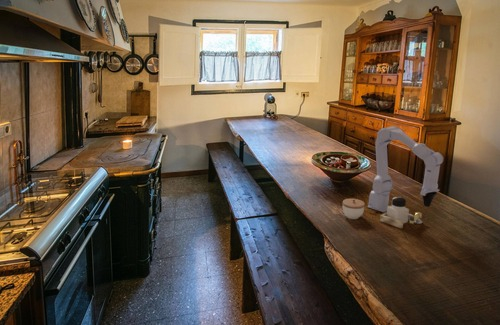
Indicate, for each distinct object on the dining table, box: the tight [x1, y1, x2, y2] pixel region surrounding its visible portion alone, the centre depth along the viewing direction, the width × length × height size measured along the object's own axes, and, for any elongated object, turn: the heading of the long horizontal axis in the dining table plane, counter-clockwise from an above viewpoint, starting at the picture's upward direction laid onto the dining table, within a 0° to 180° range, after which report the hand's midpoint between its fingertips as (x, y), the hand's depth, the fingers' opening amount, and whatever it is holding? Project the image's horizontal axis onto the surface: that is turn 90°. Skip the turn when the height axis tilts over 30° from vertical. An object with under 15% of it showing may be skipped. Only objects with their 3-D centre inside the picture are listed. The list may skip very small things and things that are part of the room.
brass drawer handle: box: [408, 211, 423, 225], centre depth 165 cm, size 12×3×3 cm, turn 138°
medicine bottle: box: [386, 196, 410, 224], centre depth 169 cm, size 7×7×12 cm
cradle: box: [379, 211, 415, 229], centre depth 170 cm, size 11×12×3 cm
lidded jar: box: [342, 198, 365, 220], centre depth 174 cm, size 11×11×9 cm
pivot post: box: [413, 218, 423, 225], centre depth 169 cm, size 4×4×2 cm
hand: (426, 205), depth 163 cm, fingers closed
